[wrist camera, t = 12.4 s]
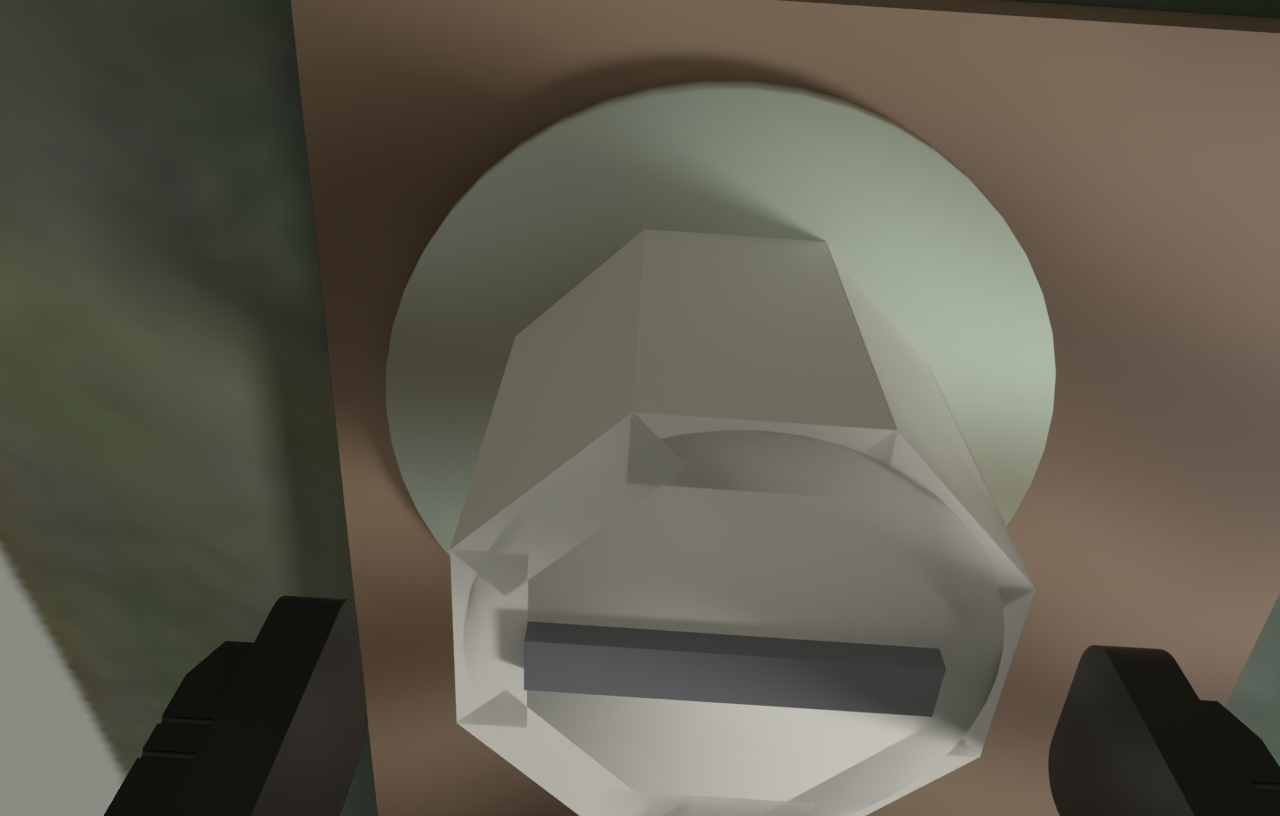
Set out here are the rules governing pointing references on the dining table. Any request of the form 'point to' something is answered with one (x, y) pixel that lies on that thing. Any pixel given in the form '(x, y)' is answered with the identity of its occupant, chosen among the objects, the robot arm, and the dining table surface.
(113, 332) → the dining table surface
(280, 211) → the dining table surface
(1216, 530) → the board
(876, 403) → the cap
